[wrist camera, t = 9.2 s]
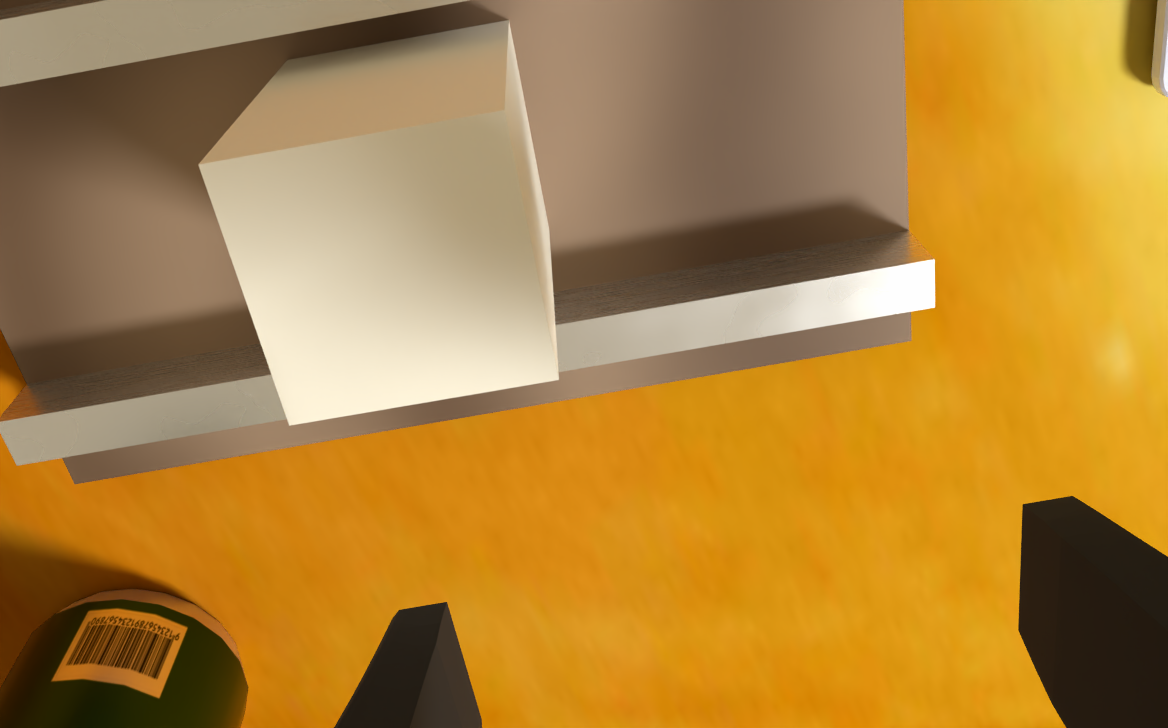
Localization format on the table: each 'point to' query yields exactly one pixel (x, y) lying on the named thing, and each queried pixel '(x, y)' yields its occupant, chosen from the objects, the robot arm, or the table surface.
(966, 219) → the table surface
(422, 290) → the cream block
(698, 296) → the track
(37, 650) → the beer can
